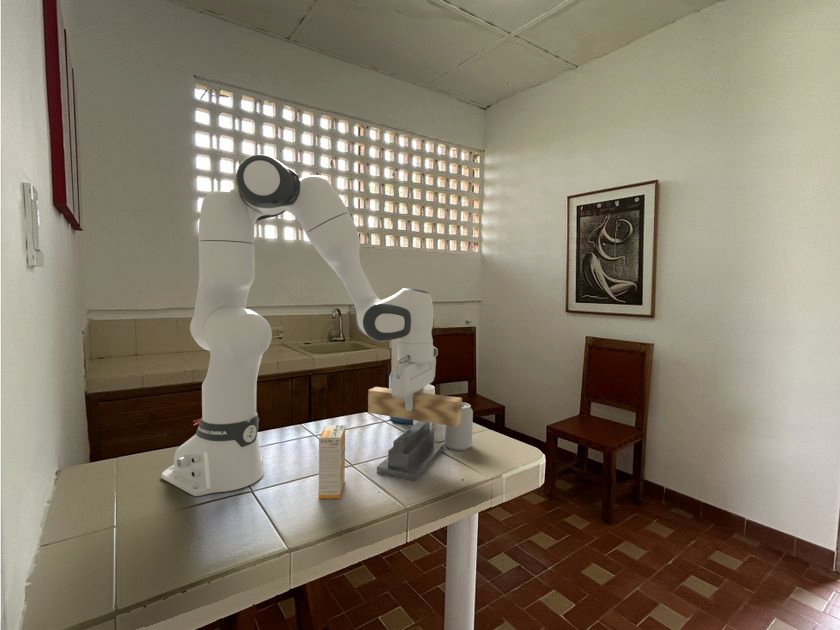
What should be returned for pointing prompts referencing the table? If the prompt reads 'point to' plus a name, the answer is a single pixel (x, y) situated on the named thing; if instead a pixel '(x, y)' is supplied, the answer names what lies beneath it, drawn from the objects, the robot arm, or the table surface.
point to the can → (460, 431)
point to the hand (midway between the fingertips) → (413, 407)
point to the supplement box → (331, 461)
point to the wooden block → (416, 407)
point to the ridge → (411, 453)
